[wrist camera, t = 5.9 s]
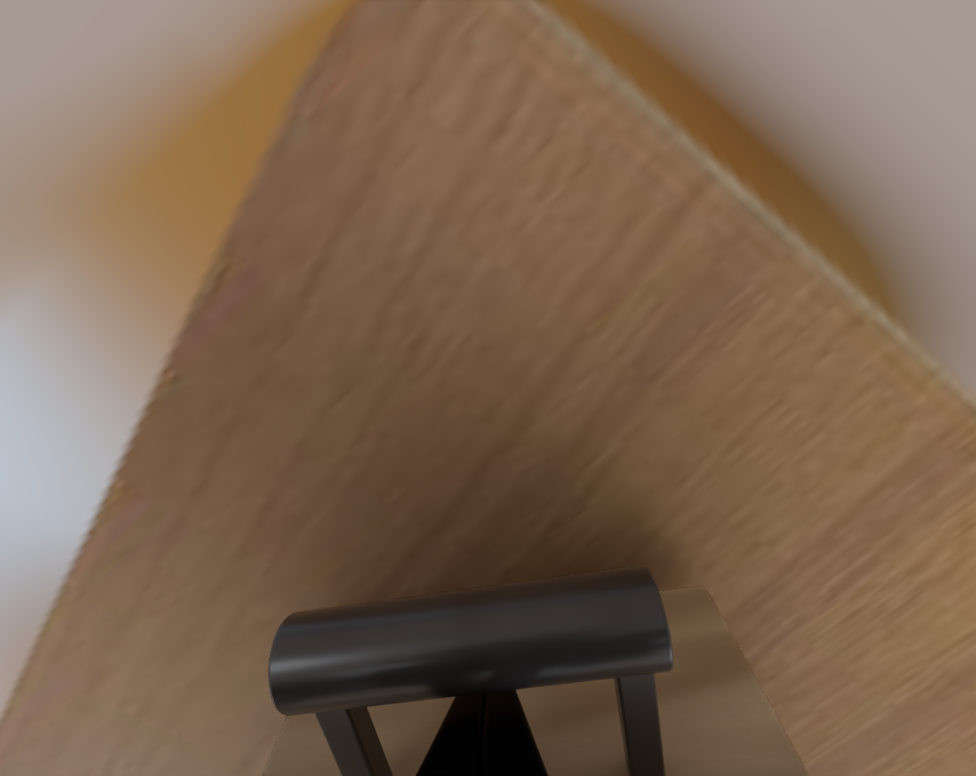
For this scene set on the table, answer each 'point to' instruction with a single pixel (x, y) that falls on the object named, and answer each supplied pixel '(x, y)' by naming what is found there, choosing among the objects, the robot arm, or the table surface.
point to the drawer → (528, 680)
